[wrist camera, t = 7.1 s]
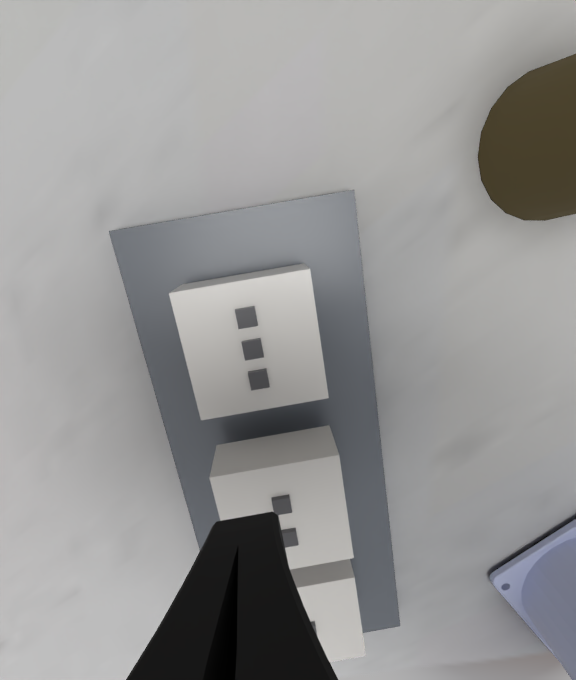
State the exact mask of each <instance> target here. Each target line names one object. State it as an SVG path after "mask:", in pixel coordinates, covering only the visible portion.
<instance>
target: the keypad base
mask: <svg viewBox="0 0 576 680" xmlns="http://www.w3.org/2000/svg"><path fill="white" fill-rule="evenodd" d="M109 234H110V237H111V241H112V244H113V248H114V251H115V255H116V258H117V262H118V265H119V269H120V272H121V276H122V279H123V283H124V286H125V290H126V293H127V297H128V300H129V304H130V307H131V311H132V314H133V318H134V321H135V325H136V328H137V332H138V335H139V339H140V342H141V346H142V349H143V353H144V356H145V360H146V363H147V367H148V370H149V374H150V377H151V381H152V384H153V388H154V391H155V395H156V398H157V402H158V405H159V409H160V412H161V416H162V419H163V423H164V426H165V430H166V433H167V437H168V440H169V444H170V447H171V451H172V454H173V458H174V461H175V465H176V468H177V472H178V475H179V479H180V482H181V486H182V489H183V493H184V496H185V500H186V503H187V507H188V510H189V514H190V517H191V521H192V524H193V528H194V531H195V535H196V538H197V541H198V545H199V548H200V550H201V548H202V546H203V544H204V542H205V540H206V538H207V536H208V534H209V532H210V530H211V528H212V526H213V525H214V524H215V523H216V522H217V521H220V517H219V513H218V509H217V506H216V502H215V498H214V494H213V490H212V486H211V482H210V479H209V477H210V473H211V468H212V464H213V459H214V455H215V450H216V446H217V445H220V444H225V443H231V442H237V441H242V440H248V439H254V438H259V437H265V436H271V435H277V434H282V433H288V432H294V431H299V430H305V429H311V428H316V427H322V426H328V425H329V426H330V429H331V432H332V435H333V438H334V441H335V444H336V447H337V450H338V453H339V457H340V464H341V471H342V478H343V485H344V492H345V499H346V506H347V513H348V520H349V527H350V534H351V541H352V548H353V555H354V558H352V559H350V561H351V565H352V569H353V573H354V577H355V583H356V590H357V597H358V604H359V611H360V618H361V625H362V631H363V633H365V632H370V631H376V630H381V629H387V628H392V627H397V626H400V620H399V610H398V601H397V591H396V582H395V572H394V563H393V553H392V544H391V534H390V525H389V516H388V506H387V497H386V487H385V478H384V468H383V459H382V449H381V440H380V430H379V421H378V411H377V402H376V392H375V383H374V374H373V364H372V355H371V345H370V336H369V326H368V317H367V307H366V298H365V288H364V279H363V269H362V260H361V250H360V241H359V232H358V222H357V213H356V203H355V194H354V190H350V191H344V192H338V193H332V194H326V195H320V196H314V197H308V198H302V199H296V200H291V201H285V202H279V203H273V204H267V205H261V206H255V207H249V208H243V209H237V210H231V211H226V212H220V213H214V214H208V215H202V216H196V217H190V218H184V219H178V220H172V221H166V222H160V223H155V224H149V225H143V226H137V227H131V228H125V229H119V230H113V231H109ZM298 264H305V265H306V266H307V267H308V268H310V271H311V278H312V285H313V292H314V299H315V306H316V313H317V320H318V327H319V333H320V340H321V347H322V354H323V361H324V368H325V375H326V382H327V389H328V396H329V398H327V399H321V400H315V401H310V402H304V403H298V404H293V405H287V406H281V407H275V408H270V409H264V410H258V411H253V412H247V413H241V414H235V415H230V416H224V417H218V418H213V419H207V420H201V418H200V414H199V411H198V407H197V403H196V399H195V395H194V391H193V387H192V383H191V379H190V375H189V371H188V367H187V363H186V359H185V355H184V352H183V348H182V344H181V340H180V336H179V332H178V328H177V324H176V320H175V316H174V312H173V308H172V304H171V300H170V296H169V293H170V292H171V291H173V290H174V289H176V288H177V287H179V286H180V285H182V284H187V283H192V282H198V281H204V280H210V279H216V278H222V277H228V276H233V275H239V274H245V273H251V272H257V271H263V270H268V269H274V268H280V267H286V266H292V265H298Z"/></svg>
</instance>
